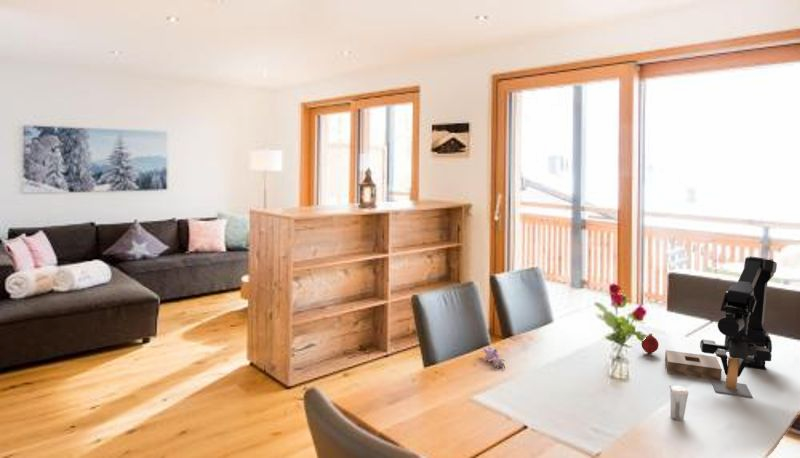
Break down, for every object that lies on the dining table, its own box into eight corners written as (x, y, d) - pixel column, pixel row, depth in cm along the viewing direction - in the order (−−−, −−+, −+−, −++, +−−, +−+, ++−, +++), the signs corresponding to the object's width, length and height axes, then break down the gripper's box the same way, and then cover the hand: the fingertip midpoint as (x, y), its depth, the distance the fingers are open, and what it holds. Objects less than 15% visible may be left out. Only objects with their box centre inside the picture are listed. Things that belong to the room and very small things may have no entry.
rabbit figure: (509, 372, 186) (493, 350, 200) (510, 357, 184) (495, 336, 198) (492, 373, 185) (477, 351, 199) (493, 358, 183) (479, 337, 197)
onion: (659, 357, 197) (661, 336, 196) (642, 356, 199) (644, 335, 198) (655, 351, 203) (656, 331, 202) (639, 350, 204) (640, 330, 203)
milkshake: (662, 414, 153) (664, 381, 152) (679, 413, 154) (682, 380, 153) (671, 422, 149) (674, 388, 148) (689, 421, 149) (692, 387, 148)
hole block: (715, 367, 188) (716, 356, 188) (720, 380, 177) (721, 369, 177) (664, 360, 194) (665, 350, 194) (667, 372, 183) (668, 361, 183)
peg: (735, 386, 172) (738, 356, 170) (737, 390, 169) (740, 360, 168) (724, 384, 173) (727, 355, 172) (726, 388, 170) (729, 358, 169)
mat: (745, 385, 174) (745, 384, 174) (752, 398, 164) (752, 396, 164) (710, 380, 177) (710, 379, 177) (715, 392, 168) (715, 391, 168)
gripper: (706, 332, 165) (702, 380, 167) (778, 340, 157) (773, 390, 159) (701, 322, 175) (697, 367, 177) (769, 329, 167) (764, 376, 170)
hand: (732, 375), depth 170 cm, fingers closed on peg, 3 cm apart
